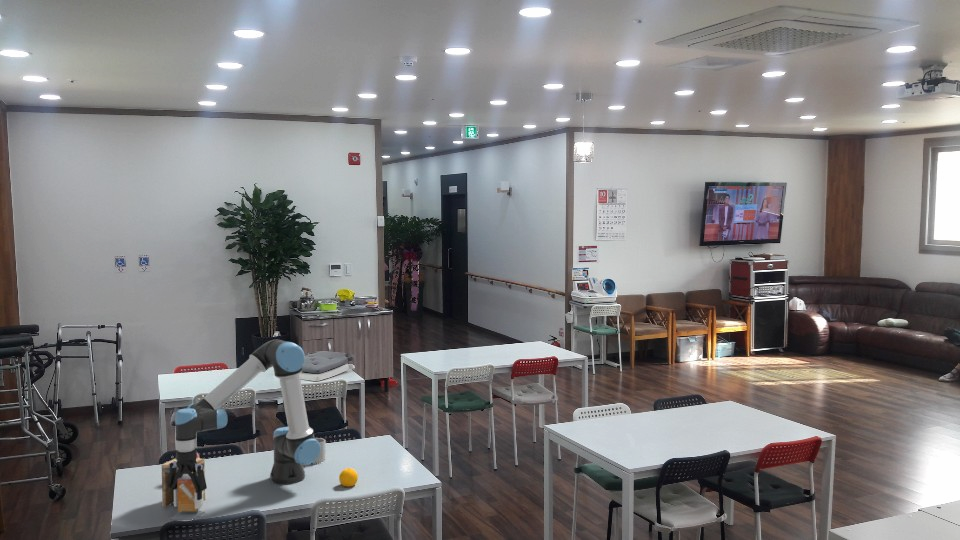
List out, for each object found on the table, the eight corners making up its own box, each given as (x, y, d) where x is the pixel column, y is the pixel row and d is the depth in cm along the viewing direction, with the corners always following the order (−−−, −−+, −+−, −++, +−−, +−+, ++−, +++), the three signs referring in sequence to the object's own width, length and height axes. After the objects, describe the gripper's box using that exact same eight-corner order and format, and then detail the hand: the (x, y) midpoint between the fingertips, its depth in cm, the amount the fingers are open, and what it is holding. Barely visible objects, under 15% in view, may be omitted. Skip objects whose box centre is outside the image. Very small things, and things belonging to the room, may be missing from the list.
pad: (204, 513, 293) (204, 511, 293) (190, 522, 285) (190, 520, 285) (185, 510, 296) (184, 509, 296) (170, 519, 287) (170, 518, 287)
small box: (177, 512, 289) (176, 479, 288) (183, 506, 295) (182, 473, 295) (198, 511, 289) (197, 478, 289) (203, 505, 296) (203, 473, 295)
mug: (327, 462, 356) (327, 441, 355) (309, 465, 352) (309, 444, 352) (321, 455, 367) (320, 435, 366) (303, 457, 363) (303, 437, 363)
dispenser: (205, 499, 308) (204, 458, 306) (187, 510, 296) (186, 467, 295) (180, 497, 311) (179, 456, 309) (161, 507, 299) (160, 465, 298)
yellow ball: (351, 481, 331) (350, 464, 330) (361, 485, 325) (361, 468, 325) (335, 485, 325) (335, 468, 325) (346, 490, 319) (345, 472, 319)
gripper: (216, 448, 289) (217, 505, 291) (168, 444, 295) (169, 500, 296) (204, 454, 282) (205, 512, 284) (156, 449, 288) (157, 507, 289)
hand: (187, 506), depth 290 cm, fingers closed on small box, 9 cm apart
